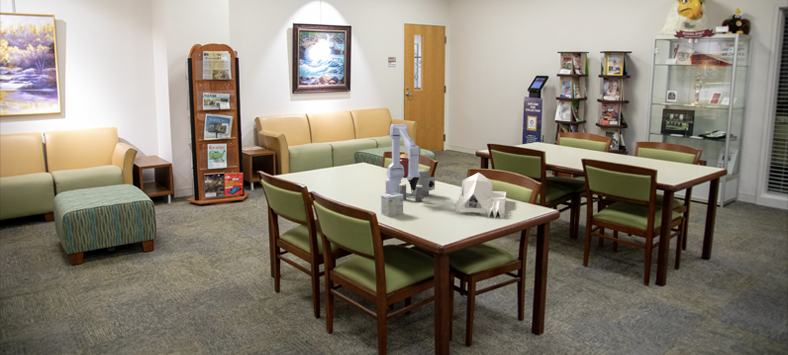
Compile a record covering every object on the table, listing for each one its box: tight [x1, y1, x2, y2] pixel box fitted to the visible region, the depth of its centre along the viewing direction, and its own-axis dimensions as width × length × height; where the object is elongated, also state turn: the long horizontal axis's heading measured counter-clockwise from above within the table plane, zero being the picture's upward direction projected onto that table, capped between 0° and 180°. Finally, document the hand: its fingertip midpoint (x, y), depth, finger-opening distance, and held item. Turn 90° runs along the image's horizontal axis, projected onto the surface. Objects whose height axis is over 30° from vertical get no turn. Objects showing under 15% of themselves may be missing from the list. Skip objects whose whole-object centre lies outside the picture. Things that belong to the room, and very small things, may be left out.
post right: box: [414, 185, 423, 203], centre depth 337 cm, size 4×4×9 cm
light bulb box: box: [380, 193, 404, 218], centre depth 308 cm, size 11×7×11 cm, turn 128°
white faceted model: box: [455, 172, 507, 219], centre depth 322 cm, size 41×27×17 cm, turn 167°
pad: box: [406, 194, 424, 199], centre depth 347 cm, size 9×5×1 cm, turn 67°
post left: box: [399, 182, 407, 201], centre depth 340 cm, size 4×4×9 cm
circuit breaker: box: [410, 168, 436, 197], centre depth 351 cm, size 8×14×15 cm, turn 48°
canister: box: [400, 151, 409, 178], centre depth 409 cm, size 13×13×18 cm
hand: (413, 190), depth 332 cm, fingers closed
